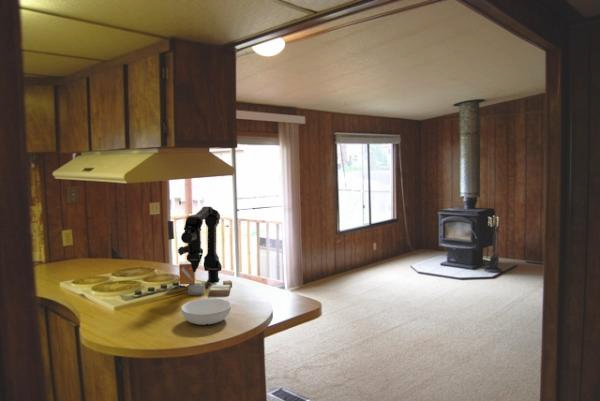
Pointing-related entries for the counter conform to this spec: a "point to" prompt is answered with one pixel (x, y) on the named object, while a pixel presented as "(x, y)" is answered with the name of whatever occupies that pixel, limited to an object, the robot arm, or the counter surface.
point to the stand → (219, 290)
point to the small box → (186, 273)
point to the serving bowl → (206, 311)
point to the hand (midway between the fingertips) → (195, 270)
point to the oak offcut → (227, 283)
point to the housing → (196, 288)
